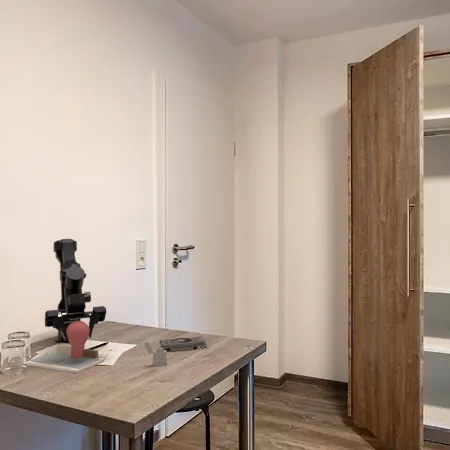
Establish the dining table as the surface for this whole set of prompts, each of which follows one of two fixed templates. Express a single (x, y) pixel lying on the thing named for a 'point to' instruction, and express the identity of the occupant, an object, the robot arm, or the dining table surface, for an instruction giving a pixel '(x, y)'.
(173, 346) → the graphics card
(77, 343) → the light bulb
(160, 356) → the lighter
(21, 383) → the dining table surface
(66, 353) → the board
